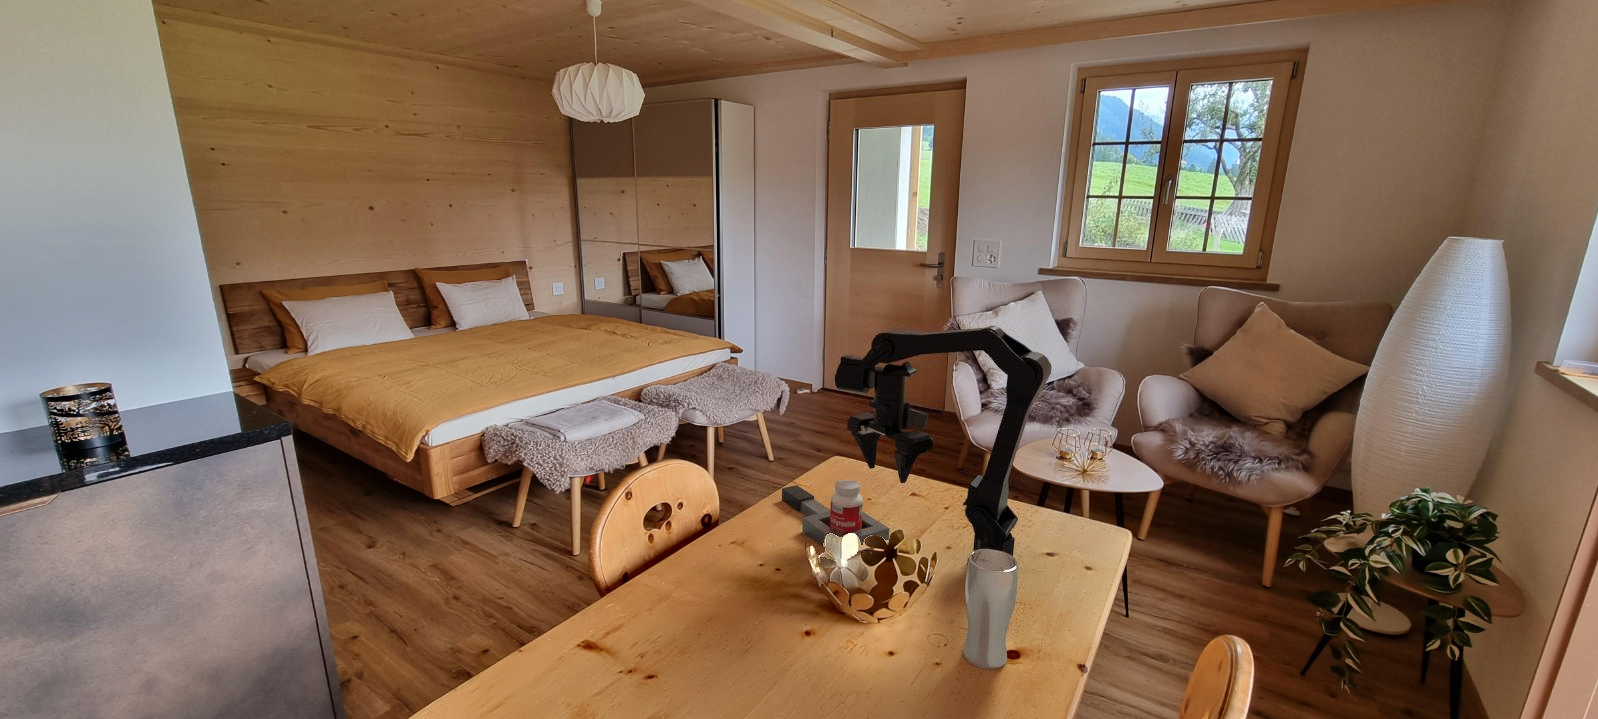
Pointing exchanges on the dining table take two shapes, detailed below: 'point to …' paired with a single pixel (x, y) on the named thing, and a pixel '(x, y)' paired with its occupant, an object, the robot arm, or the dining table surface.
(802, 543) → the dining table surface
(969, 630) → the beer glass
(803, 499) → the socket
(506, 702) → the dining table surface
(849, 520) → the pill bottle
